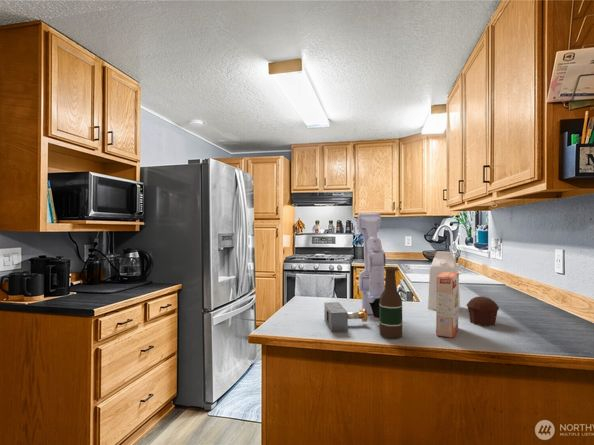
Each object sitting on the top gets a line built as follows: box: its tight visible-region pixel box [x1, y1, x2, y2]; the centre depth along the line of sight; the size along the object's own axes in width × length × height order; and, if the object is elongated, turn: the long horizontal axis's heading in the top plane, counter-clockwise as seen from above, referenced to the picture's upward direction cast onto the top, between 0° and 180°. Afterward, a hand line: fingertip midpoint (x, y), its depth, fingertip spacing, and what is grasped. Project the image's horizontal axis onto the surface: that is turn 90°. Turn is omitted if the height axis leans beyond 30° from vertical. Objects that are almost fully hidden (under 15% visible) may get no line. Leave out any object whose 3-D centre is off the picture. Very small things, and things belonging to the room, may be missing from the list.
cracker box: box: [435, 272, 460, 339], centre depth 124 cm, size 14×6×21 cm, turn 148°
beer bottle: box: [378, 266, 403, 340], centre depth 121 cm, size 8×8×24 cm
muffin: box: [466, 296, 500, 327], centre depth 135 cm, size 12×11×10 cm
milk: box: [427, 250, 461, 311], centre depth 159 cm, size 12×12×26 cm
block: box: [323, 301, 349, 333], centre depth 133 cm, size 6×16×7 cm, turn 5°
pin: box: [347, 308, 368, 323], centre depth 134 cm, size 10×5×5 cm, turn 95°
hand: (376, 317), depth 135 cm, fingers closed
